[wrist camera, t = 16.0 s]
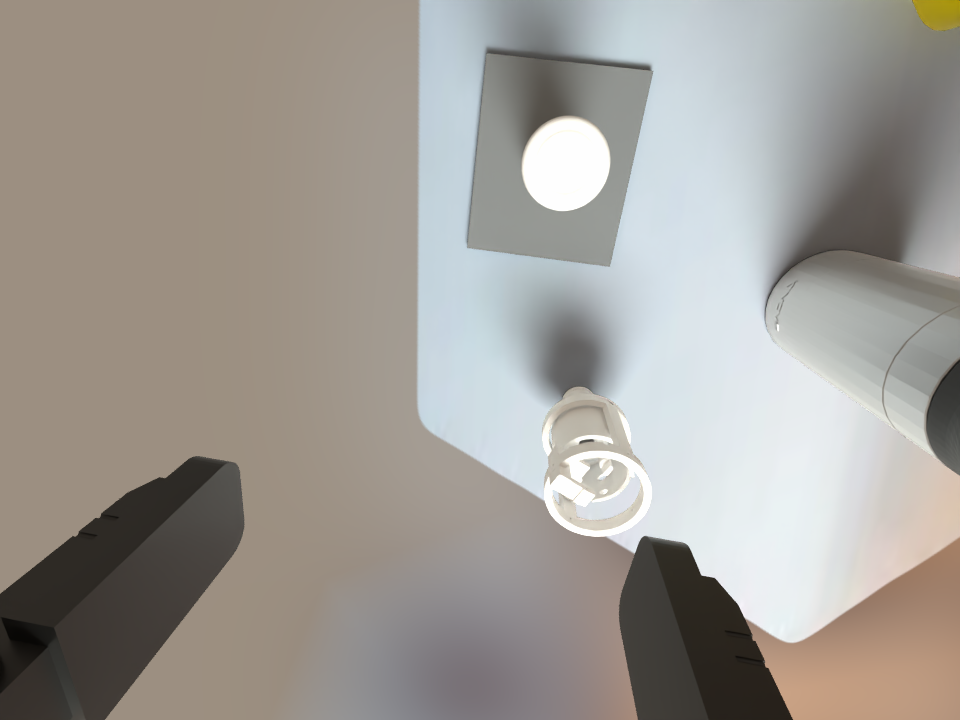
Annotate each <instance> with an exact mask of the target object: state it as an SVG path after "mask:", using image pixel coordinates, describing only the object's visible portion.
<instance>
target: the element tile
mask: <svg viewBox="0 0 960 720" xmlns="http://www.w3.org/2000/svg"><path fill="white" fill-rule="evenodd" d="M912 1H913V3H914V6H915V8H916V10H917V13H918V15H919V17H920V19H921V20H922V21H923V23H924V24H925V25H927V26H928V27H930V28H931V29H932V30H939V31H946V30H949V29H953V28H956V27H959V26H960V0H912Z"/></svg>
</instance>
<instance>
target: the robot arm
mask: <svg viewBox="0 0 960 720" xmlns="http://www.w3.org/2000/svg"><path fill="white" fill-rule="evenodd" d="M765 321H766V326H767V330H768V333H769V334H770V336H771V338H772V340H773V341H774V342H775V343H776V344H777V345H778V346H779V347H780V348H781V349H782V350H784V351H785V352H786V353H788V354H789V355H791V356H792V357H793V358H795V359H796V360H798V361H799V362H800V363H802V364H803V365H804V366H806V367H807V368H808V369H810V370H811V371H813V372H814V373H815V374H817V375H818V376H820V377H821V378H823V379H824V380H825V381H827V382H828V383H830V384H831V385H832V386H834V387H835V388H837V389H838V390H839V391H841V392H842V393H844V394H845V395H846V396H848V397H849V398H851V399H852V400H853V401H855V402H856V403H858V404H859V405H860V406H862V407H863V408H865V409H866V410H867V411H869V412H870V413H872V414H873V415H874V416H876V417H877V418H879V419H880V420H881V421H883V422H884V423H886V424H887V425H889V426H890V427H891V428H893V429H894V430H896V431H897V432H898V433H900V434H901V435H903V436H904V437H905V438H907V439H909V440H910V441H911V442H913V443H914V444H916V445H917V446H918V447H920V448H921V449H923V450H924V451H925V452H927V453H928V454H930V455H931V456H933V457H934V458H935V459H937V460H938V461H940V462H941V463H942V464H944V465H945V466H947V467H948V468H950V469H951V470H952V471H954V472H955V473H957V474H958V475H960V278H959V277H955V276H951V275H947V274H943V273H939V272H935V271H931V270H927V269H923V268H919V267H915V266H911V265H907V264H903V263H899V262H895V261H892V260H888V259H884V258H880V257H876V256H872V255H868V254H863V253H859V252H855V251H847V250H836V251H828V252H824V253H820V254H816V255H814V256H812V257H809V258H807V259H805V260H803V261H802V262H800V263H799V264H797V265H796V266H794V267H793V268H791V269H790V270H789V271H788V272H787V273H786V274H785V275H784V276H783V277H782V278H781V279H780V280H779V282H778V283H777V285H776V286H775V287H774V289H773V291H772V293H771V295H770V297H769V299H768V303H767V307H766V319H765ZM243 530H244V512H243V502H242V491H241V480H240V471H239V467H238V466H237V464H236V463H233V462H229V461H223V460H217V459H211V458H206V457H200V456H195V457H192V458H190V459H188V460H187V461H186V462H184V463H183V464H182V465H181V466H180V467H179V468H177V469H176V470H175V471H174V472H173V473H171V474H170V475H169V476H168V477H167V478H160V477H159V478H157V479H155V480H153V481H151V482H149V483H147V484H145V485H143V486H141V487H138V488H136V489H134V490H132V491H130V492H129V493H126V494H125V495H124V496H123V497H122V498H120V499H119V500H118V501H116V502H115V503H114V504H113V505H111V506H110V507H109V508H108V509H106V510H105V511H104V512H103V513H102V514H101V517H100V518H95V519H94V520H93V521H91V522H90V523H89V524H88V525H86V526H85V527H84V528H82V529H81V530H80V531H79V534H78V535H77V536H76V537H74V536H72V537H71V538H70V539H69V540H67V541H66V542H65V543H64V544H62V545H61V546H60V547H59V548H58V549H56V550H55V551H54V552H52V553H51V554H50V555H49V556H47V557H46V558H45V559H44V560H42V561H41V562H40V563H39V564H37V565H36V566H35V567H34V568H32V569H31V570H30V571H28V572H27V573H26V574H25V575H23V576H22V577H21V578H20V579H18V580H17V581H16V582H15V583H13V584H12V585H11V586H10V587H8V588H7V589H6V590H5V591H3V592H2V593H1V594H0V720H105V719H106V718H107V716H108V715H109V714H110V712H111V711H112V710H113V709H114V707H115V706H116V705H117V703H118V702H119V701H120V700H121V698H122V697H123V696H124V694H125V693H126V692H127V691H128V689H129V688H130V686H131V685H132V684H133V683H134V682H135V680H136V679H137V678H138V676H139V675H140V674H141V673H142V671H143V670H144V669H145V667H146V666H147V665H148V663H149V662H150V661H151V660H152V658H153V657H154V656H155V655H156V653H157V652H158V651H159V649H160V648H161V647H162V646H163V644H164V643H165V642H166V640H167V639H168V638H169V636H170V635H171V634H172V633H173V631H174V630H175V629H176V627H177V626H178V625H179V624H180V622H181V621H182V620H183V619H184V617H185V616H186V615H187V613H188V612H189V611H190V610H191V608H192V607H193V606H194V604H195V603H196V602H197V601H198V599H199V598H200V597H201V595H202V594H203V593H204V592H205V590H206V589H207V588H208V586H209V585H210V584H211V582H212V581H213V580H214V579H215V577H216V576H217V575H218V574H219V572H220V571H221V570H222V568H223V567H224V566H225V565H226V563H227V562H228V561H229V559H230V558H231V557H232V555H233V554H234V552H235V551H236V549H237V547H238V545H239V543H240V541H241V538H242V534H243ZM619 622H620V629H621V635H622V640H623V645H624V650H625V655H626V660H627V665H628V671H629V676H630V681H631V686H632V691H633V696H634V701H635V707H636V711H637V716H638V720H793V719H792V717H791V715H790V713H789V710H788V708H787V707H786V704H785V702H784V700H783V698H782V696H781V694H780V692H779V689H778V687H777V685H776V683H775V681H774V679H773V677H772V675H771V673H770V671H769V669H768V668H766V667H765V664H764V663H765V660H764V658H763V656H762V654H761V652H760V650H759V648H758V646H757V644H756V641H753V640H752V633H751V631H750V629H749V627H748V625H747V623H746V620H745V618H744V616H743V614H742V612H741V610H740V608H739V606H738V604H737V603H736V602H735V601H734V600H733V599H732V597H731V596H730V595H729V594H728V593H727V592H726V590H725V589H724V588H723V587H722V586H721V585H720V584H719V582H718V581H717V580H716V579H715V578H712V577H706V576H701V574H700V571H699V569H698V567H697V564H696V562H695V559H694V557H693V555H692V552H691V550H690V548H689V547H688V545H687V544H685V543H682V542H676V541H670V540H665V539H659V538H653V537H648V536H644V537H642V538H641V540H640V542H639V544H638V547H637V550H636V553H635V555H634V558H633V561H632V564H631V567H630V570H629V573H628V575H627V578H626V581H625V584H624V587H623V590H622V593H621V598H620V605H619Z"/></svg>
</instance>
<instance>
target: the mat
mask: <svg viewBox="0 0 960 720" xmlns="http://www.w3.org/2000/svg"><path fill="white" fill-rule="evenodd" d="M652 75H653V71H649V70H639V69H630V68H621V67H611V66H602V65H593V64H583V63H574V62H565V61H555V60H546V59H536V58H527V57H518V56H508V55H499V54H490V53H486V63H485V73H484V83H483V94H482V104H481V114H480V124H479V134H478V144H477V154H476V164H475V174H474V184H473V195H472V205H471V215H470V225H469V235H468V245H467V248H472V249H479V250H487V251H495V252H502V253H510V254H517V255H525V256H533V257H540V258H548V259H555V260H563V261H571V262H578V263H586V264H593V265H601V266H609V267H610V264H611V259H612V255H613V250H614V246H615V241H616V237H617V232H618V228H619V223H620V219H621V214H622V210H623V205H624V201H625V196H626V192H627V187H628V183H629V178H630V174H631V169H632V165H633V160H634V156H635V151H636V147H637V142H638V138H639V133H640V129H641V124H642V120H643V115H644V111H645V106H646V102H647V97H648V93H649V88H650V84H651V79H652ZM561 116H578V117H581V118H584V119H586V120H588V121H590V122H592V123H593V124H594V125H596V126H597V127H598V128H599V130H600V131H601V132H602V133H603V135H604V137H605V139H606V141H607V143H608V147H609V150H610V169H609V174H608V177H607V180H606V182H605V184H604V186H603V188H602V189H601V191H600V192H599V193H598V194H597V196H596V197H595V198H593V199H592V200H591V201H590V202H589V203H587V204H586V205H584V206H582V207H579V208H577V209H574V210H569V211H557V210H552V209H549V208H546V207H544V206H543V205H541V204H539V203H538V202H537V201H536V200H535V199H534V198H533V197H532V196H531V195H530V193H529V192H528V190H527V189H526V187H525V184H524V181H523V178H522V172H521V161H522V155H523V152H524V149H525V146H526V144H527V142H528V140H529V139H530V137H531V136H532V134H533V133H534V132H535V131H536V130H537V129H538V128H539V127H540V126H541V125H543V124H544V123H546V122H547V121H549V120H551V119H554V118H557V117H561Z"/></svg>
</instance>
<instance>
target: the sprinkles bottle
mask: <svg viewBox="0 0 960 720" xmlns="http://www.w3.org/2000/svg"><path fill="white" fill-rule="evenodd" d="M609 169H610V150H609V147H608V143H607V141H606V139H605V137H604V135H603V133H602V132H601V131H600V130H599V128H598V127H597V126H596V125H594V124H593V123H592V122H590V121H588V120H586V119H584V118H581V117H578V116H561V117H557V118H554V119H551V120H549V121H547V122H546V123H544V124H543V125H541V126H540V127H539V128H538V129H537V130H536V131H535V132H534V133H533V134H532V136H531V137H530V139H529V140H528V142H527V144H526V146H525V149H524V152H523V155H522V161H521V172H522V178H523V181H524V184H525V187H526V189H527V190H528V192H529V193H530V195H531V196H532V197H533V198H534V199H535V200H536V201H537V202H538V203H539V204H541V205H543V206H544V207H546V208H549V209H552V210H557V211H569V210H574V209H577V208H579V207H582V206H584V205H586V204H587V203H589V202H590V201H591V200H592V199H593V198H595V197H596V196H597V194H598V193H599V192H600V191H601V189H602V188H603V186H604V184H605V182H606V180H607V177H608V174H609Z"/></svg>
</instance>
